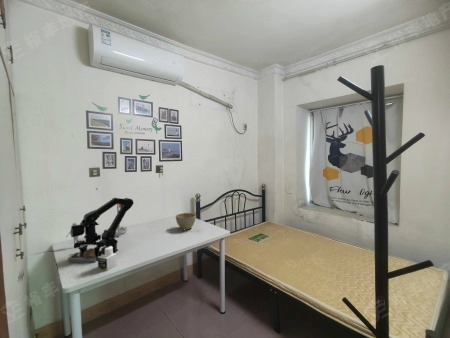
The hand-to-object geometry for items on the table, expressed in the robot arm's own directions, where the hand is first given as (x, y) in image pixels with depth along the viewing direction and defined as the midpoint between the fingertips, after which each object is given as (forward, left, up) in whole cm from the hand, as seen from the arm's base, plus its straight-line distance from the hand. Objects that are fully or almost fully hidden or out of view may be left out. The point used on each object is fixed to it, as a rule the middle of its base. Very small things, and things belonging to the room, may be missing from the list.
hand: (91, 256), depth 142 cm
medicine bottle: (-16, +13, -1) cm, 21 cm away
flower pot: (-52, -56, -1) cm, 77 cm away
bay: (+4, -3, -1) cm, 5 cm away
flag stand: (+3, -44, -1) cm, 45 cm away
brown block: (0, 0, -1) cm, 1 cm away
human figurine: (+23, -19, -1) cm, 30 cm away
